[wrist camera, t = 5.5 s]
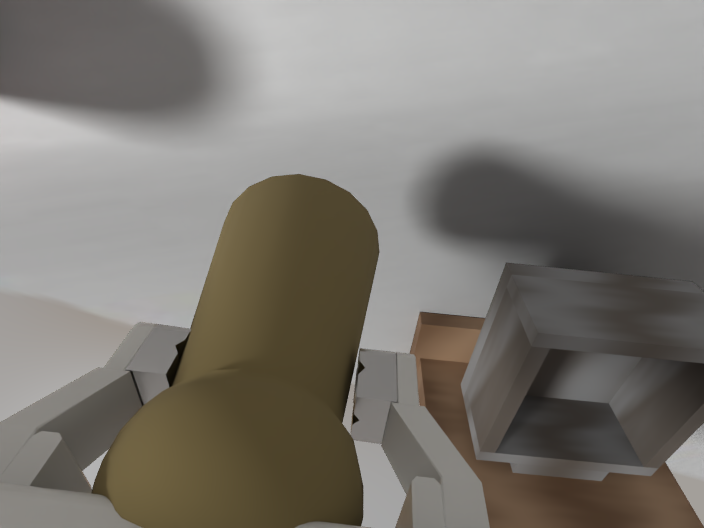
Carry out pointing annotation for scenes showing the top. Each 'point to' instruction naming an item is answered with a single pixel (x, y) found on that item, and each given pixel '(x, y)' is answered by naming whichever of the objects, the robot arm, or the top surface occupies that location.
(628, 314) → the cup bracket
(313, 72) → the top surface
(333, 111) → the top surface
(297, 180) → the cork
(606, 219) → the top surface
